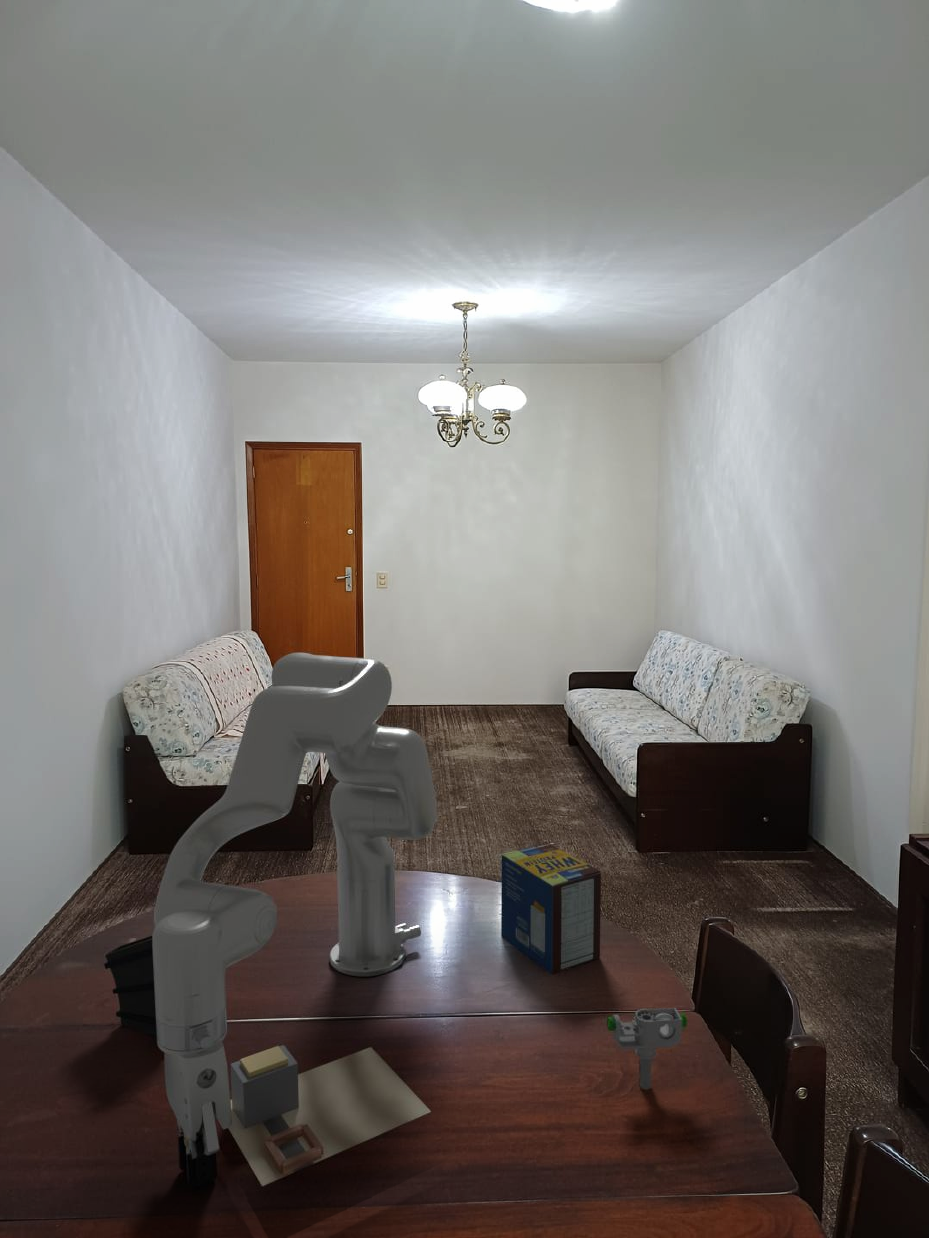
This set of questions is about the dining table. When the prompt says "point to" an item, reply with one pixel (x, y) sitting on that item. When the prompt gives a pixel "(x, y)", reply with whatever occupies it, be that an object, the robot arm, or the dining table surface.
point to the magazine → (134, 984)
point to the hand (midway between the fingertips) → (198, 1172)
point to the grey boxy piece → (264, 1086)
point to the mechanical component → (648, 1035)
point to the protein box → (551, 906)
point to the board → (329, 1115)
